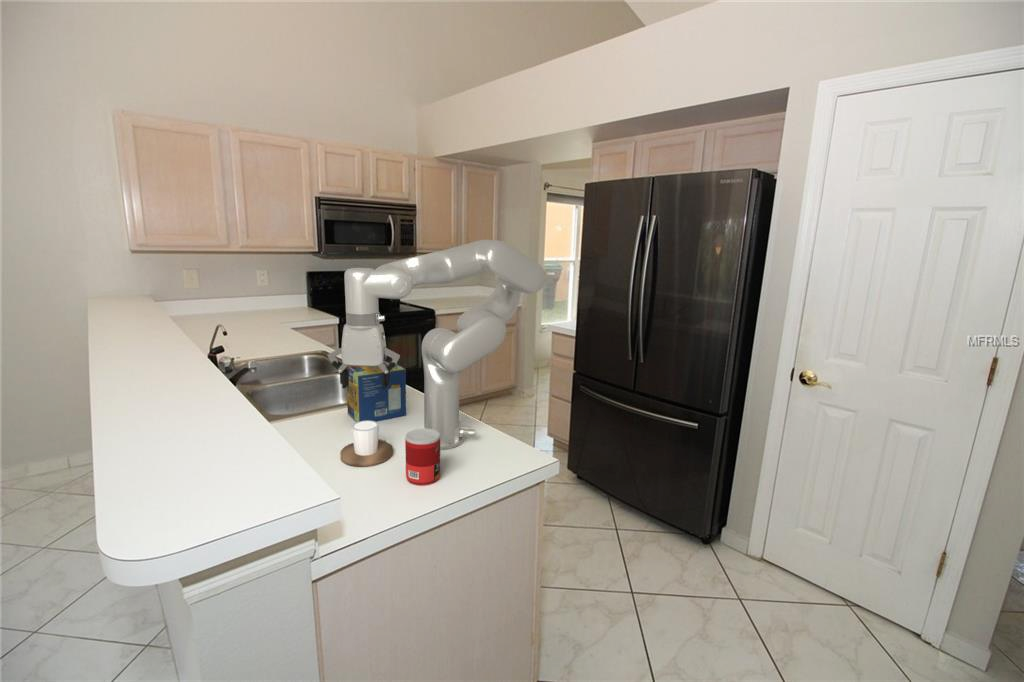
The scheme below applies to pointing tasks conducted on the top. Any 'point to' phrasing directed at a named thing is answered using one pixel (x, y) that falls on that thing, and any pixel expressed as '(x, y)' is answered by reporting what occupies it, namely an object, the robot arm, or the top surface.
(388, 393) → the protein box
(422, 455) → the canned food
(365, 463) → the brown round coaster
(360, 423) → the white cup
